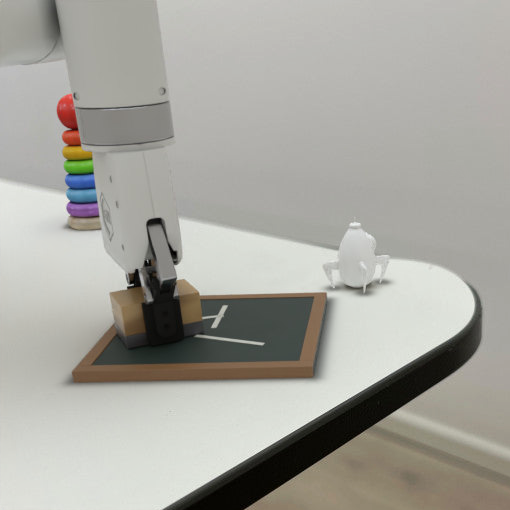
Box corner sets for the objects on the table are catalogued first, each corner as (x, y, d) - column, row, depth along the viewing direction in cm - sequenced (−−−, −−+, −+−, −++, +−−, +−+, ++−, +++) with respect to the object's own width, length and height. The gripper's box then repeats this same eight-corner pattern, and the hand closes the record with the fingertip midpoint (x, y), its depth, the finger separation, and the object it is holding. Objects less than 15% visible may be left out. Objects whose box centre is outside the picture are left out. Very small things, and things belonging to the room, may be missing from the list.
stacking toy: (135, 221, 116) (114, 91, 109) (98, 234, 110) (74, 96, 102) (95, 217, 120) (72, 91, 112) (57, 230, 113) (30, 96, 105)
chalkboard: (74, 385, 64) (71, 371, 63) (138, 308, 81) (136, 296, 80) (313, 380, 63) (312, 366, 63) (327, 303, 80) (326, 291, 79)
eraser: (127, 349, 67) (120, 306, 66) (116, 333, 71) (109, 292, 69) (204, 332, 70) (199, 291, 69) (189, 318, 74) (184, 278, 72)
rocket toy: (390, 284, 85) (389, 213, 82) (367, 299, 81) (365, 225, 77) (348, 277, 87) (345, 208, 84) (323, 292, 83) (319, 220, 80)
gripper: (61, 122, 68) (97, 314, 76) (101, 144, 55) (141, 375, 62) (145, 114, 71) (172, 299, 79) (203, 133, 58) (229, 354, 65)
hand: (158, 330), depth 70 cm, fingers closed on eraser, 4 cm apart
